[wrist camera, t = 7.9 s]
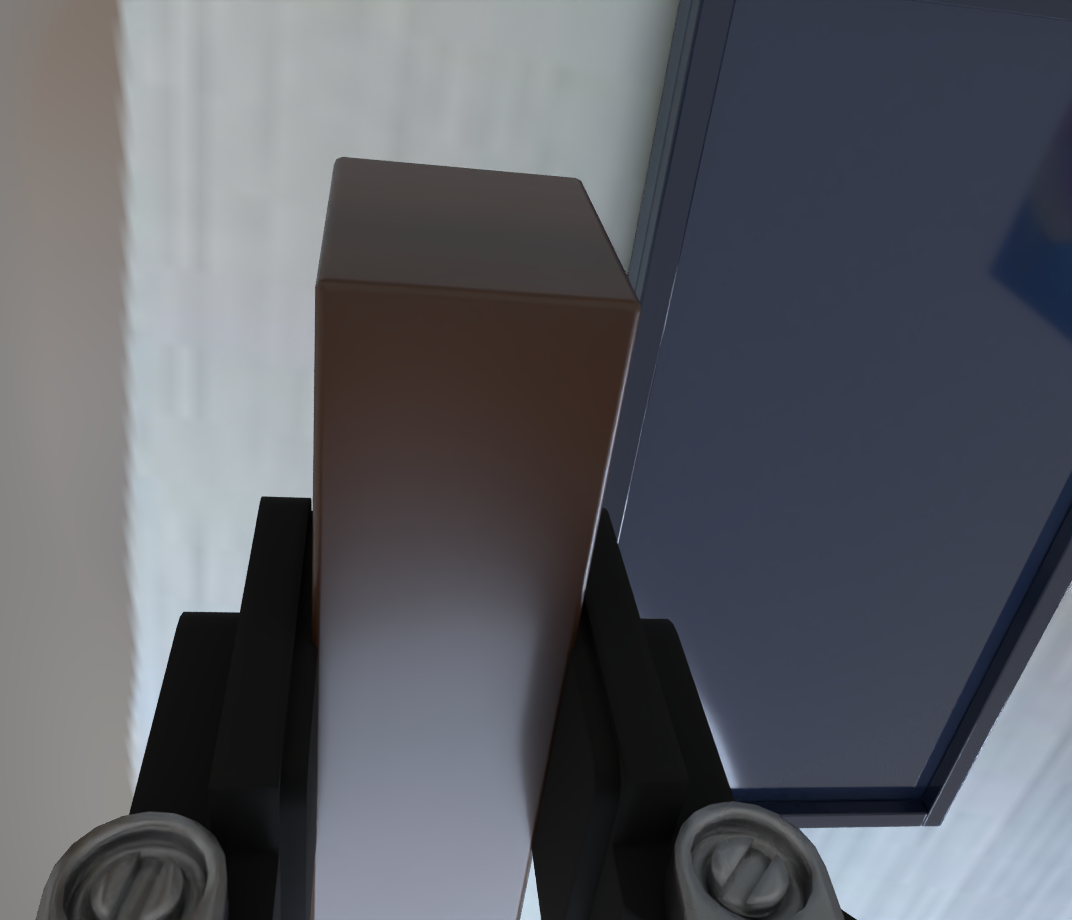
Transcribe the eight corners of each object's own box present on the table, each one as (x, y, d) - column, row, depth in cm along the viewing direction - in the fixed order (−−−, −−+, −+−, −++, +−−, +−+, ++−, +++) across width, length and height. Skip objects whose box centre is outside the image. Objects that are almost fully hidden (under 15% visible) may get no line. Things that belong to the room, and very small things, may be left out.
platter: (693, -77, 17) (713, -68, 16) (1316, 8, 19) (1372, 21, 18) (529, 794, 29) (534, 833, 28) (921, 790, 31) (940, 826, 30)
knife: (334, 154, 10) (314, 280, 7) (582, 175, 10) (646, 304, 8) (314, 1126, 20) (303, 1319, 17) (437, 1117, 20) (444, 1304, 18)
